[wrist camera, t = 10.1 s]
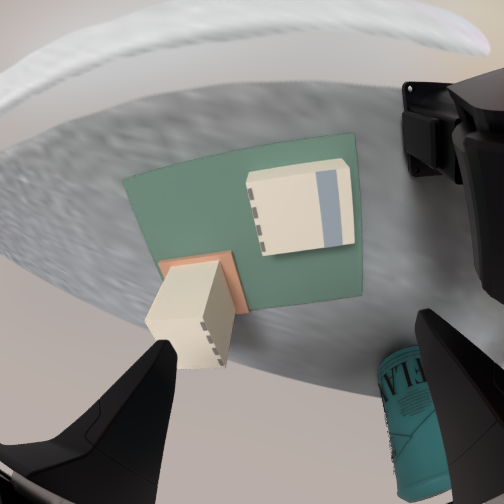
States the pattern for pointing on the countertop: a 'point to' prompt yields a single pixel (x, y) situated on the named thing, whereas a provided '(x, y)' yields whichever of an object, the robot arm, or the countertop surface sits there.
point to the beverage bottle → (413, 427)
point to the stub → (194, 315)
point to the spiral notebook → (302, 206)
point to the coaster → (228, 270)
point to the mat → (247, 221)
